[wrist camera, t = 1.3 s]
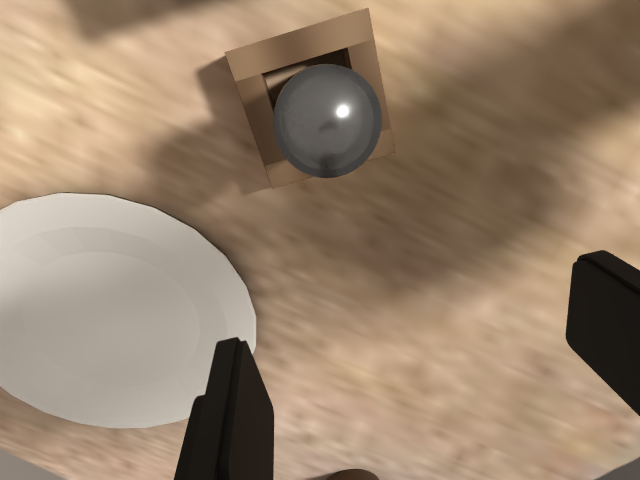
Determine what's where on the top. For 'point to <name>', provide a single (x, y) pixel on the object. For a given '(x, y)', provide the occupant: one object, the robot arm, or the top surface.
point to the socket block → (295, 47)
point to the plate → (112, 309)
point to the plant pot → (354, 475)
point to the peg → (327, 120)
